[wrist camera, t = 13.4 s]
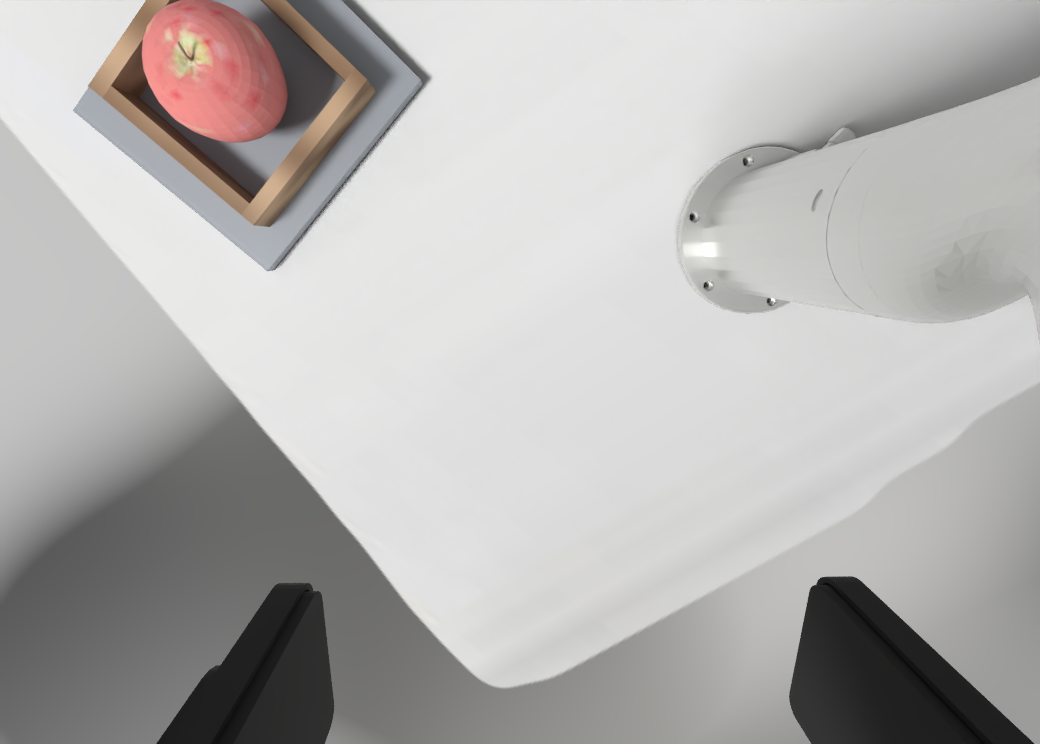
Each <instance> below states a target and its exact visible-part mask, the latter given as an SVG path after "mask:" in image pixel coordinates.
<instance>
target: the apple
mask: <svg viewBox="0 0 1040 744" xmlns="http://www.w3.org/2000/svg"><path fill="white" fill-rule="evenodd" d="M142 61H143V69H144V72H145V75H146V77H147V80H148V83H149V85H150V87H151V89H152V91H153V92H154V94H155V96H156V98H157V99H158V101H159V103H160V104H161V105H162V106H163V107H164V108H165V109H166V110H167V111H168V113H169V114H170V115H171V116H172V117H173V118H174V119H175V120H177V121H178V122H179V123H181V124H183V125H184V126H186V127H187V128H189V129H190V130H192V131H194V132H196V133H199V134H201V135H204V136H206V137H209V138H212V139H215V140H220V141H224V142H229V143H237V142H249V141H252V140H256V139H260V138H262V137H263V136H265V135H267V134H269V133H270V132H272V131H273V130H274V128H275V127H276V126H277V125H278V124H279V123H280V121H281V119H282V117H283V114H284V112H285V110H286V105H287V99H288V92H287V84H286V80H285V76H284V73H283V70H282V67H281V65H280V62H279V60H278V57H277V55H276V53H275V51H274V49H273V47H272V45H271V44H270V42H269V41H268V40H267V38H266V37H265V36H264V34H263V33H262V32H261V30H260V29H259V28H258V26H257V25H256V24H255V23H253V22H252V21H251V20H249V19H248V18H247V17H245V16H244V15H242V14H241V13H240V12H238V11H237V10H235V9H233V8H231V7H228V6H226V5H224V4H222V3H219V2H214V1H209V0H180V1H177V2H174V3H171V4H168V5H167V6H165V7H164V8H163V9H161V10H160V11H158V12H157V13H156V14H155V15H154V17H153V18H152V20H151V21H150V23H149V24H148V25H147V28H146V31H145V34H144V37H143V44H142Z"/></svg>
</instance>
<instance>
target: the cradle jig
mask: <svg viewBox="0 0 1040 744" xmlns="http://www.w3.org/2000/svg"><path fill="white" fill-rule="evenodd" d="M177 1H180V0H146V1H145V3H144V4H143V6H142V7H141V9H140V10H139V12H138V13H137V15H136V16H135V18H134V19H133V21H132V22H131V23H130V25H129V26H128V28H127V29H126V31H125V32H124V34H123V35H122V37H121V38H120V40H119V41H118V43H117V44H116V46H115V47H114V49H113V50H112V51H111V53H110V54H109V56H108V57H107V59H106V60H105V62H104V63H103V65H102V66H101V68H100V69H99V71H98V72H97V74H96V75H95V77H94V78H93V80H92V81H91V82H90V84H89V85H88V86H89V88H88V89H87V91H86V92H85V94H84V95H83V97H82V98H81V99H80V101H79V102H78V104H77V105H76V107H75V108H74V110H73V111H74V112H75V113H76V114H78V115H79V116H80V117H81V118H82V119H84V120H85V121H86V122H87V123H89V124H90V125H91V126H92V127H93V128H95V129H96V130H97V131H98V132H99V133H101V134H102V135H103V136H104V137H106V138H107V139H108V140H109V141H110V142H112V143H113V144H114V145H115V146H116V147H118V148H119V149H120V150H121V151H122V152H124V153H125V154H126V155H127V156H129V157H130V158H131V159H132V160H133V161H135V162H136V163H137V164H138V165H139V166H141V167H142V168H143V169H144V170H145V171H147V172H148V173H149V174H150V175H152V176H153V177H154V178H155V179H156V180H158V181H159V182H160V183H161V184H162V185H164V186H165V187H166V188H167V189H168V190H170V191H171V192H172V193H173V194H175V195H176V196H177V197H178V198H179V199H181V200H182V201H183V202H184V203H185V204H187V205H188V206H189V207H190V208H192V209H193V210H194V211H195V212H196V213H198V214H199V215H200V216H201V217H202V218H204V219H205V220H206V221H207V222H208V223H210V224H211V225H212V226H213V227H215V228H216V229H217V230H218V231H219V232H221V233H222V234H223V235H224V236H225V237H227V238H228V239H229V240H230V241H231V242H233V243H234V244H235V245H236V246H238V247H239V248H240V249H241V250H242V251H244V252H245V253H246V254H247V255H248V256H250V257H251V258H252V259H253V260H254V261H256V262H257V263H258V264H259V265H261V266H262V267H263V268H264V269H265V270H267V271H273V270H274V269H275V268H276V266H277V265H278V264H279V263H280V261H281V260H282V259H283V258H284V256H285V255H286V254H287V253H288V251H289V250H290V249H291V248H292V246H293V245H294V244H295V243H296V241H297V240H298V239H299V238H300V237H301V235H302V234H303V233H304V232H305V230H306V229H307V228H308V227H309V225H310V224H311V223H312V222H313V220H314V219H315V218H316V217H317V215H318V214H319V213H320V212H321V210H322V209H323V208H324V207H325V205H326V204H327V203H328V202H329V201H330V199H331V198H332V197H333V196H334V194H335V193H336V192H337V191H338V189H339V188H340V187H341V186H342V184H343V183H344V182H345V181H346V179H347V178H348V177H349V176H350V174H351V173H352V172H353V171H354V169H355V168H356V167H357V166H358V165H359V163H360V162H361V161H362V160H363V158H364V157H365V156H366V155H367V153H368V152H369V151H370V150H371V148H372V147H373V146H374V145H375V143H376V142H377V141H378V140H379V138H380V137H381V136H382V135H383V133H384V132H385V131H386V130H387V128H388V127H389V126H390V125H391V124H392V122H393V121H394V120H395V119H396V117H397V116H398V115H399V114H400V112H401V111H402V110H403V109H404V107H405V106H406V105H407V104H408V102H409V101H410V100H411V99H412V97H413V96H414V95H415V94H416V92H417V91H418V90H419V89H420V88H421V86H422V85H423V84H422V81H421V79H420V78H419V77H418V76H417V75H416V74H415V73H414V72H413V71H412V70H411V69H410V68H409V67H408V66H407V65H406V64H405V63H404V62H403V61H402V60H401V59H400V58H399V57H398V56H397V55H396V54H395V53H394V52H393V51H392V50H391V49H390V48H389V47H388V46H387V45H386V44H385V43H384V42H383V41H382V40H381V39H380V38H379V37H378V36H377V35H376V34H375V33H374V32H373V31H372V30H371V29H370V28H369V27H368V26H367V25H366V24H365V23H364V22H363V21H362V20H361V19H360V18H359V17H358V16H357V15H356V14H355V13H354V12H353V11H352V10H351V9H350V8H349V7H348V6H347V5H346V4H345V3H344V2H343V1H342V0H209V1H214V2H219V3H222V4H224V5H226V6H228V7H231V8H233V9H235V10H237V11H238V12H240V13H241V14H242V15H244V16H245V17H247V18H248V19H249V20H251V21H252V22H253V23H255V24H256V25H257V26H258V28H259V29H260V30H261V32H262V33H263V34H264V36H265V37H266V38H267V40H268V41H269V42H270V44H271V45H272V47H273V49H274V51H275V53H276V55H277V57H278V60H279V62H280V65H281V67H282V70H283V73H284V76H285V80H286V84H287V92H288V99H287V105H286V110H285V112H284V114H283V117H282V119H281V121H280V123H279V124H278V125H277V126H276V127H275V128H274V130H273V131H272V132H270V133H269V134H267V135H265V136H263V137H262V138H260V139H256V140H252V141H249V142H237V143H229V142H224V141H220V140H215V139H212V138H209V137H206V136H204V135H201V134H199V133H196V132H194V131H192V130H190V129H189V128H187V127H186V126H184V125H183V124H181V123H179V122H178V121H177V120H175V119H174V118H173V117H172V116H171V115H170V114H169V113H168V111H167V110H166V109H165V108H164V107H163V106H162V105H161V104H160V103H159V101H158V99H157V98H156V96H155V94H154V92H153V91H152V89H151V87H150V85H149V83H148V80H147V77H146V75H145V72H144V69H143V61H142V44H143V37H144V34H145V31H146V28H147V25H148V24H149V23H150V21H151V20H152V18H153V17H154V15H155V14H156V13H157V12H158V11H160V10H161V9H163V8H164V7H165V6H167V5H168V4H171V3H174V2H177Z"/></svg>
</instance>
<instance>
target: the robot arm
mask: <svg viewBox="0 0 1040 744" xmlns="http://www.w3.org/2000/svg"><path fill="white" fill-rule="evenodd" d="M743 160H745V165H744V164H743ZM690 214H692V215H693V219H692V220H690V219H689V216H690ZM677 246H678V254H679V260H680V263H681V266H682V269H683V272H684V274H685V276H686V277H687V279H688V281H689V283H690V284H691V286H692V287H693V288H694V289H695V290H696V291H697V293H698V294H699V295H700V296H702V297H703V298H704V299H706V300H707V301H708V302H710V303H711V304H714V305H716V306H718V307H720V308H722V309H726V310H729V311H733V312H739V313H747V314H750V313H763V312H767V311H771V310H775V309H777V308H780V307H782V306H784V305H786V304H788V303H790V302H795V303H801V304H807V305H813V306H818V307H824V308H830V309H836V310H841V311H847V312H853V313H859V314H865V315H870V316H876V317H882V318H888V319H893V320H900V321H906V322H913V323H929V324H934V323H949V322H956V321H961V320H965V319H970V318H974V317H978V316H981V315H984V314H987V313H990V312H992V311H995V310H997V309H999V308H1001V307H1004V306H1006V305H1008V304H1011V303H1013V302H1015V301H1017V300H1019V299H1021V298H1022V297H1024V296H1026V295H1029V298H1030V300H1031V303H1032V306H1033V310H1034V314H1035V318H1036V324H1037V329H1038V336H1039V343H1040V77H1037V78H1035V79H1032V80H1030V81H1027V82H1025V83H1022V84H1019V85H1016V86H1014V87H1011V88H1008V89H1006V90H1003V91H1000V92H997V93H995V94H992V95H989V96H987V97H984V98H981V99H978V100H975V101H972V102H969V103H966V104H963V105H960V106H957V107H954V108H951V109H948V110H944V111H941V112H938V113H935V114H932V115H929V116H925V117H922V118H919V119H916V120H913V121H910V122H907V123H904V124H901V125H898V126H895V127H891V128H888V129H885V130H882V131H879V132H875V133H872V134H869V135H866V136H862V137H859V138H856V136H855V134H854V132H853V131H852V130H850V129H848V128H840V129H839V130H838V131H837V132H836V133H835V134H834V135H833V136H832V137H831V138H830V139H829V140H828V141H827V142H826V145H825V146H824V147H823V148H822V149H819V148H817V149H814V150H811V151H807V152H804V153H801V154H800V153H798V152H796V151H793V150H790V149H786V148H782V147H769V146H765V147H758V148H752V149H748V150H745V151H742V152H740V153H737V154H735V155H733V156H731V157H729V158H726V159H724V160H722V161H721V162H720V163H718V164H717V165H716V166H714V167H713V168H712V169H710V170H709V171H708V172H707V173H706V174H705V175H704V176H703V177H702V178H701V179H700V181H699V182H698V183H697V184H696V186H695V187H694V189H693V190H692V192H691V193H690V195H689V197H688V199H687V201H686V203H685V206H684V208H683V210H682V213H681V217H680V221H679V226H678V237H677ZM705 282H706V283H707V286H706V287H705V288H703V286H704V283H705ZM767 299H768V302H767ZM789 698H790V705H791V708H792V711H793V714H794V716H795V718H796V720H797V721H798V723H799V724H800V726H801V728H802V729H803V731H804V732H805V734H806V736H807V737H808V739H809V741H810V742H811V744H1034V743H1033V742H1032V741H1031V740H1030V739H1029V738H1028V737H1027V736H1026V735H1024V734H1023V733H1022V732H1021V731H1020V730H1019V729H1018V728H1017V727H1016V726H1015V725H1014V724H1013V723H1012V722H1011V721H1010V720H1008V719H1007V718H1006V717H1005V716H1004V715H1003V714H1002V713H1001V712H1000V711H999V710H998V709H997V708H996V707H995V706H994V705H992V704H991V703H990V702H989V701H988V700H987V699H986V698H985V697H984V696H983V695H982V694H981V693H980V692H979V691H978V690H976V689H975V688H974V687H973V686H972V685H971V684H970V683H969V682H968V681H967V680H966V679H965V678H964V677H963V676H962V675H960V674H959V673H958V672H957V671H956V670H955V669H954V668H953V667H952V666H951V665H950V664H949V663H948V662H947V661H946V660H944V659H943V658H942V657H941V656H940V655H939V654H938V653H937V652H936V651H935V650H934V649H933V648H932V647H931V646H930V645H929V644H927V643H926V642H925V641H924V640H923V639H922V638H921V637H920V636H919V635H918V634H917V633H916V632H915V631H914V630H913V629H911V628H910V627H909V626H908V625H907V624H906V623H905V622H904V621H903V620H902V619H901V618H900V617H899V616H898V615H897V614H895V613H894V612H893V611H892V610H891V609H890V608H889V607H888V606H887V605H886V604H885V603H884V602H883V601H882V600H880V598H878V597H877V596H876V595H875V594H874V593H873V592H872V591H871V590H870V589H869V588H868V587H867V586H865V584H863V583H862V582H861V581H860V580H859V579H857V578H855V577H822V578H820V579H819V580H818V582H817V585H814V586H812V587H811V589H810V592H809V597H808V603H807V607H806V612H805V618H804V622H803V628H802V633H801V638H800V643H799V648H798V653H797V658H796V663H795V668H794V673H793V678H792V684H791V689H790V695H789ZM333 713H334V700H333V691H332V682H331V673H330V664H329V655H328V646H327V637H326V628H325V619H324V610H323V601H322V595H321V593H320V592H319V591H317V592H315V591H313V588H312V586H311V584H309V583H279V584H277V585H275V586H274V588H273V589H272V590H271V592H270V593H269V595H268V596H267V597H266V599H265V601H264V602H263V603H262V605H261V606H260V608H259V609H258V611H257V612H256V614H255V615H254V617H253V618H252V620H251V621H250V623H249V624H248V626H247V627H246V629H245V630H244V632H243V633H242V634H241V636H240V637H239V639H238V640H237V642H236V644H235V645H234V646H233V648H232V649H231V651H230V652H229V654H228V655H227V657H226V658H225V660H224V661H223V663H222V664H221V665H219V666H215V667H213V668H212V669H210V670H209V671H208V672H207V673H206V675H205V676H204V677H203V678H202V679H201V681H200V682H199V684H198V685H197V687H196V688H195V689H194V691H193V692H192V694H191V695H190V696H189V698H188V699H187V701H186V703H185V704H184V705H183V706H182V708H181V709H180V711H179V712H178V714H177V715H176V717H175V718H174V719H173V721H172V722H171V724H170V725H169V727H168V728H167V730H166V731H165V732H164V734H163V735H162V737H161V738H160V740H159V741H158V742H157V744H325V741H326V738H327V735H328V733H329V730H330V727H331V723H332V719H333Z"/></svg>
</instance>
